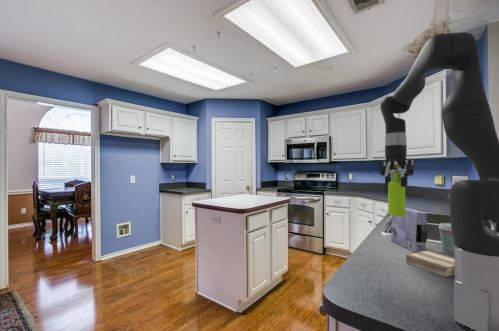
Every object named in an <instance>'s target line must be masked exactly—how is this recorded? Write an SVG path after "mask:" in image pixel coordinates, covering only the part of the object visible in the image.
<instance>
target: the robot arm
mask: <svg viewBox="0 0 499 331" xmlns="http://www.w3.org/2000/svg"><path fill="white" fill-rule="evenodd" d="M480 66H481V65H480V56H479V49H478V43H477V39H476V37H475V36H474V35H473V34H472V33H470V32H466V31H465V32H464V31H462V32H461V31H460V32H448V33H447V32H446V33H438V34H434V35H432V36H431V37H430V38H429V39H428V40H427V41H426V42H425V44H424V45H423V46H422V49H421V50H420V52H419V53H418V56H417V57H416V59H415V61H414V63H413V65H412V67H411V68H410V70H409V72H408V74H407V76H406V77H405V78H404V80H403V81H402V82H401V83H400V85H399V86H398V87H397V88H396V90H395V91H394V93H393V95H391V96H390V95H389V96H388V95H387V96H385V97H383V98H382V99H381V101H380V106H379V108H380V111H381V114H382V117H383V120H384V125H385V126H384V127H385V136H384V156H385V160H381V161H378V167H379V173H380V176H383V177H384V181H385V182H384V184H385V185H386V187H388V182H392V174H393V173H394V169H396V170H398V171H399V173H400V174H401V187H405V188H406V187H408V185H409V184H408V178H409V177H411V176H414V170H415V160H414V159H407V152H408V150H407V149H408V148H407V147H408V146H407V141H408V140H407V135H406V134H407V133H406V132H407V131H406V130H407V129H406V128H407V126H406V124H407V123H406V120H405V119H403V118H398V117H396V116H395V115H396V114H405V113H407V112H408V111H409V110H410V108H411V105H412V104H413V101H414V100H415V98H417V97H418V96H419V95H420V94H421V93H422V92H423V90H424V89H425V86H426V78H425V74H426V73H427V72H429V71H430V70H448V69H449V70H452V72H453V74H454V75H453V76H454V86H453V87H452V90H451V91H450V93H449V95H448V96H447V97H446V99H445V101H444V103H443V105H442V107H441V119H442V123H443V124H442V125H443V129H444V133H445V135H446V136H447V138H448V140H450V142H451V143H452V144H453V145H454V146H455V147H456V148H457V149H458V150H460V151H461V152H462V154H464V155H465V156H466V157H467V158H468V159H469V160H470V161H471V163H472V164H473V166H474V168H475V170H476V172H477V174H478V178H479V179H460V180H457V181H455V182H454V183H453V184H452V185H451V187H450V190H449V195H448V200H449V201H448V202H449V214H450V215H449V216H450V217H449V218H450V223H451V230H452V234H453V238H454V255H453V256H454V257H453V258H454V275H453V277H454V281H453V321H454V320H455V321H457V322H459V323H461V324H463V325H465V326H467V327H469V328H471V329H475V330H477V331H499V236H497V235H493V234H491V233H488V232H487V231H486V230H485V229H484V223H483V221H495V222H496V221H497V222H499V138H498V134H497V131H496V126H495V122H494V117H493V114H492V111H491V107H490V106H491V105H490V104H489V101H488V98H487V95H486V90H485V86H484V81H483V78H482V72H481V67H480ZM394 114H395V115H394ZM394 165H396V166H400V167H394Z"/></svg>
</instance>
